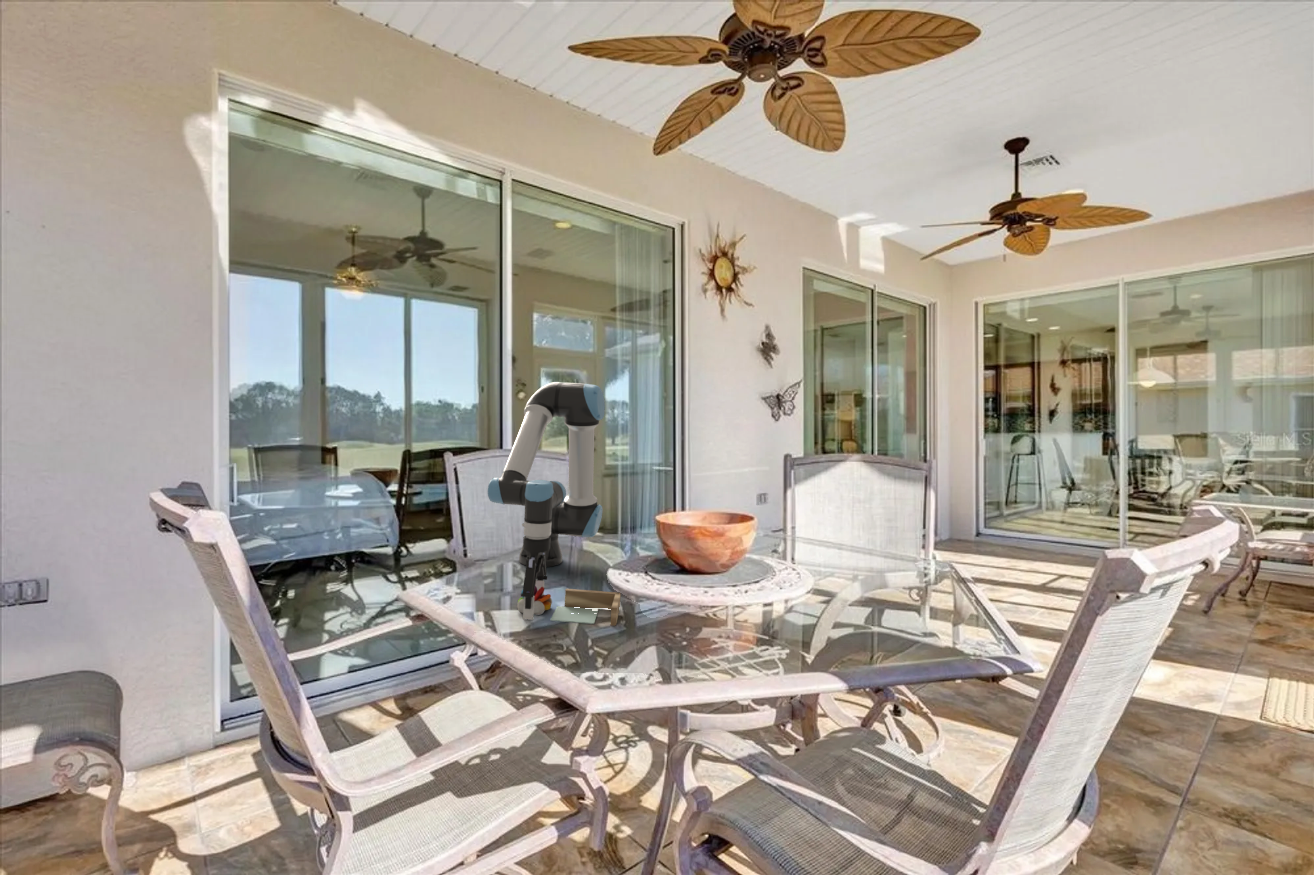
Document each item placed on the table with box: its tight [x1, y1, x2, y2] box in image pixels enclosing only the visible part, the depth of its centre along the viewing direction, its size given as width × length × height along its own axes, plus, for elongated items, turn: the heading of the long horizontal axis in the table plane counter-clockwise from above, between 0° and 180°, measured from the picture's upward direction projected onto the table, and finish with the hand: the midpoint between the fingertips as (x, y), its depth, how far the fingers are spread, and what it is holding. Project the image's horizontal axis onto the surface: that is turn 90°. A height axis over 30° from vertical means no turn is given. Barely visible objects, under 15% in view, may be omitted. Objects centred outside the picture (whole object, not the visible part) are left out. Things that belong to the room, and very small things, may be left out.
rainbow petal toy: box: [516, 586, 553, 616], centre depth 176 cm, size 8×10×7 cm
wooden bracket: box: [563, 588, 622, 626], centre depth 175 cm, size 12×16×5 cm
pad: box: [550, 605, 599, 625], centre depth 174 cm, size 10×12×1 cm
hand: (533, 610), depth 175 cm, fingers open, 12 cm apart
